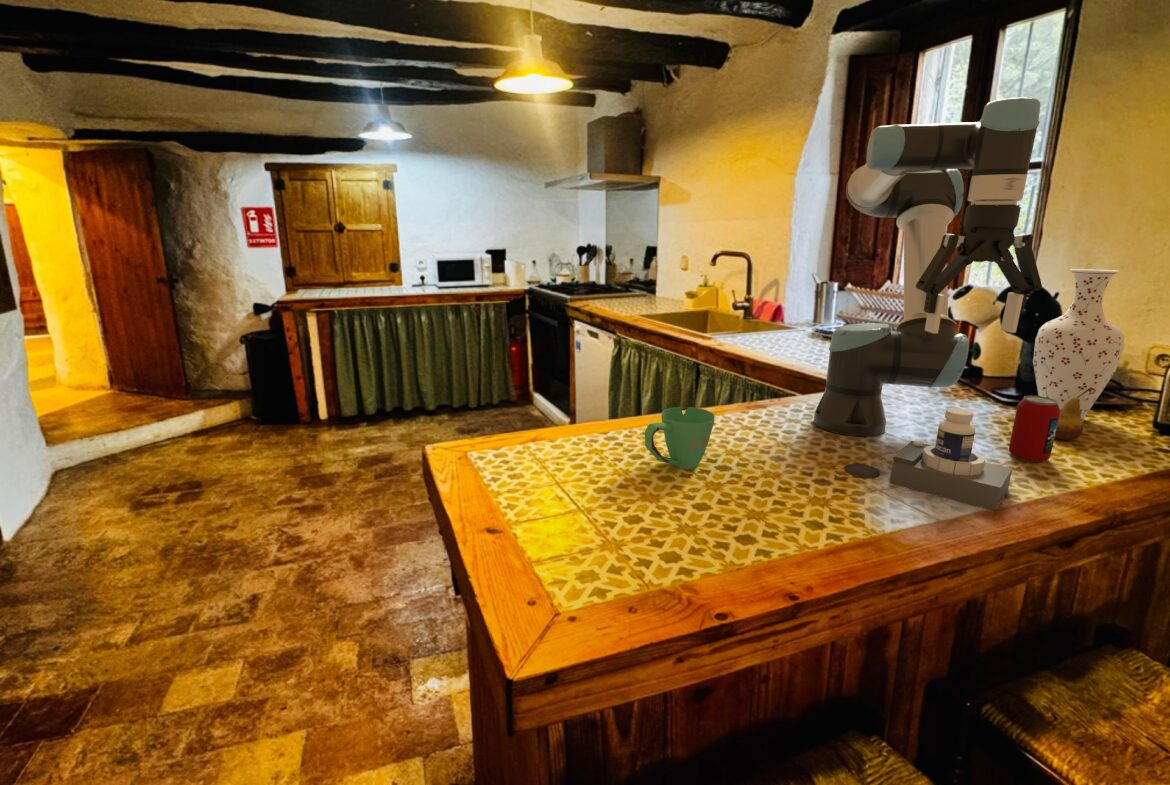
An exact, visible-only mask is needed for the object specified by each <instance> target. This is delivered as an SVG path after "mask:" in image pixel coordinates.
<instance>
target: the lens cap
mask: <svg viewBox="0 0 1170 785" xmlns="http://www.w3.org/2000/svg"><path fill="white" fill-rule="evenodd" d="M843 468H844V469H843V470H844V471H845V473H847V474H848V475H850V476H853V477H856V478H862V479H876V478H879V476H880V475H881V472H880V470H879V469H878V468H877V467H875V466H872V465H869V464H864V463H848V464H845V466H844V467H843Z"/></svg>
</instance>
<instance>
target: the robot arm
mask: <svg viewBox="0 0 1170 785" xmlns="http://www.w3.org/2000/svg"><path fill="white" fill-rule="evenodd" d="M1040 113H1041V101H1040V100H1039V99H1038V98H1034V97H1012V98H1011V97H1010V98H1002V99H996V100H992V101H990V102H988V103H987V104H985V105H984V108H983V112H982V115H981V118H980V120H979V121H977V122H976V121H975V122H952V123H947V122H946V123H925V124H924V123H923V124H922V123H920V124H896V123H893V124H891V125H880V126H877V127H875V128H874V129H873V130H872V131H871V133H870V137H869V139H868V143H867V150H866V163H865V164H864V165H862V166H860V167H858V168H856V170H854V172H853V173H852V174H851V175H850V177H849V179H848V180H847V183H846V186H845V189H846V190H845V193H846V199H847V201H848V202H849V203H850V205H851V206H852V207H853V208H855V209H856V210H857V211H859V212H860V213H863V214H865V215H867V216H869V217H870V216H871V217H875V218H894V219H895V218H896V226H897V228H898V229H899V230H900V231H902V232H903V320H902V321H900V322H899V323H898V324H897V326H896V328H895V330H892V328H891V325H890V324H887V323H882V322H881V323H878V322H877V323H874V322H864V323H853V324H852V323H851V324H846V325H842V326H839V327H837V328H836V329H835V330H833V332H832V334H831V340H830V345H829V347H828V351H829V354H828V355H829V356H828V364H827V365H828V366H827V372H826V381H825V382H826V383H825V389H824V392H823V394H822V397H821V398H820V400H819V402H818V405H817V407H816V409H815V410H814V414H813V424H814V425H815V426H816V427H818V428H820V429H822V430H824V431H828V432H831V433H833V434H834V433H835V434H839V435H845V436H854V437H855V436H857V437H871V436H872V437H873V436H878V435H881V434H884V433H885V431H886V426H887V420H886V419H887V418H886V414H885V409H884V405H883V404H884V403H883V399H882V390H883V385H884V384H885V385H897V386H913V387H924V388H925V387H927V388H949V387H951V386H954V385H955V384H956V383H957V382H958V381H959V380H960V378H961V376H962V375H963V372H964V369H965V368H966V364H967V359H968V355H969V349H970V343H969V342H970V341H969V339H968V336H967V335H966V334H963V333H961V332H960V333H958V330H957V327H958V325H957V322H956V321H955V320H953V319H952V318H950V317H949V301H948V300H949V299H948V298H949V294H948V293H949V292H948V288H949V286H948V285H949V284H950V283H951V282H953V281H954V280H955V278H957V276H959V274H960V273H962V271H963V270H965V269H966V267H967V266H969V265H971V264H973V263H974V262H975V263H983V262H990V263H996V265H997V266H998V268H999V270H1000V272H1001V273H1002V275H1003V276H1004V278H1005V280H1006V281H1007V283H1008V284H1009V286H1010V287H1011V288H1012V290H1013V292H1008V293H1007V297H1006V302H1005V307H1004V311H1003V316H1002V322H1001V327H1000V330H1001V331H1004V332H1008V333H1010V334H1014V333H1017V328H1018V324H1019V321H1020V316H1021V315H1020V314H1021V313H1023V312H1024V311H1025V309H1026V303H1027V299H1028V295H1032V294H1034V292H1035V291H1040V290H1041V289H1042V287H1043V285H1042V281H1041V280H1042V279H1041V276H1040V274H1039V269H1038V265H1037V262H1036V259H1035V255H1034V251H1033V239H1034V235H1033V234H1031V233H1017V234H1016V235H1015V234H1014V231H1015V229H1016V228H1017V227H1018V224H1019V218H1020V214H1021V209H1022V207H1021V206H1020V204H1018V202H1021V201H1022V200H1023V199H1024V198H1023V197H1024V193H1025V192H1024V191H1025V188H1026V182H1027V179H1028V178H1027V177H1028V174H1029V168H1030V164H1031V160H1032V158H1031V157H1032V155H1033V154H1032V153H1033V149H1034V144H1035V140H1036V135H1037V130H1038V127H1039V126H1040V115H1041V114H1040ZM961 169H962V170H965V171H966V170H967V171H972V173H971V179H970V184H969V188H968V189H969V190H968V194H967V201H968V202H970V205H967V207H965V213H964V219H963V224H962V225H963V226H962V227H963V233H962V234H961V235H959V234H956V233H955V234H954V233H947V226H948V225H949V224H950V223H951V222H952V221H953V219H954V217H956V216H957V215H958V214H959V212H960V211H961V208H962V204H963V200H964V198H963V194H964V180H963V177H962V174H961V172H960V170H961ZM958 247H961V249H960V251H958V253H957V254H956V255H954V253H955V251H956V249H957V248H958ZM1011 247H1013V248H1014V254H1015V257H1016V261H1017V264H1018V266H1017V264H1016V263H1015V261H1014V260H1015V258H1014V255H1013V254H1012V253H1011V251H1010V250H1009V249H1010V248H1011ZM953 255H954V257H953V260H952V261H951V262H949V261H950V259H951V258H952V256H953ZM948 262H949V263H948Z"/></svg>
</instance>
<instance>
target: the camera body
mask: <svg viewBox="0 0 1170 785" xmlns="http://www.w3.org/2000/svg"><path fill="white" fill-rule="evenodd" d="M935 445H936V444H934V445H931V444H928V443H924V442H922V441H918V440H914V441H913V440H911V441H910V442H909V443H908V444H906V445H905V446H904V447H903V448H902V449H901V450H899V451H898V452H897V453H896V454H895V455H894V456H893V459H892V465H891V466H892V467H891V471H890V479H889V483H890V484H894V485H897V486H901V487H905V488H908V489H912V490H916V491H920V492H923V493H927V494H932V495H935V496H939V497H943V498H946V499H951V500H955V501H959V502H961V503H966V504H970V505H973V506H977V507H981V508H983V509H984V508H985V509H989V510H993V511H995V512H996V511H997V509H998V508H999V506H1000V504H1001V502H1002V501H1003V499H1004V497H1005V496H1006V494H1007V492H1008V491H1009V487H1010V482H1011V478H1012V472H1013V468H1012V467H1010V466H1009V467H1008V466H1003V465H999V464H995V463H990V462H986V458H985V457H984V456H983V455H982V454H981V453H978V452H976V451H974V450H972V451H971V457H970V462H961V461H953V460H948V459H944V458H941V457H938V456H936V455H934V451H935Z"/></svg>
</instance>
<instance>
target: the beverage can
mask: <svg viewBox="0 0 1170 785" xmlns="http://www.w3.org/2000/svg"><path fill="white" fill-rule="evenodd" d="M1057 403H1058V401H1056V400H1054V399H1051V398H1047V397H1041V396H1039V395H1026V396H1023V398H1022V399H1021V400H1020V401H1019V403H1018V404H1017V407H1016V411H1015V416H1014V422H1013V424H1012V430H1011V436H1010V441H1009V447H1008V452H1009V453H1010V454H1012V455H1013V457H1015V458H1016V459H1020V460H1023V461H1027V462H1032V463H1033V462H1034V463H1042V462H1043V461H1047V460H1049V459H1050V457H1051V454H1052V451H1053V446H1054V442H1055V439H1056V437H1055V434H1056V429H1057V425H1058V420H1059V415H1060V408H1059V406H1058V404H1057Z"/></svg>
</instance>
